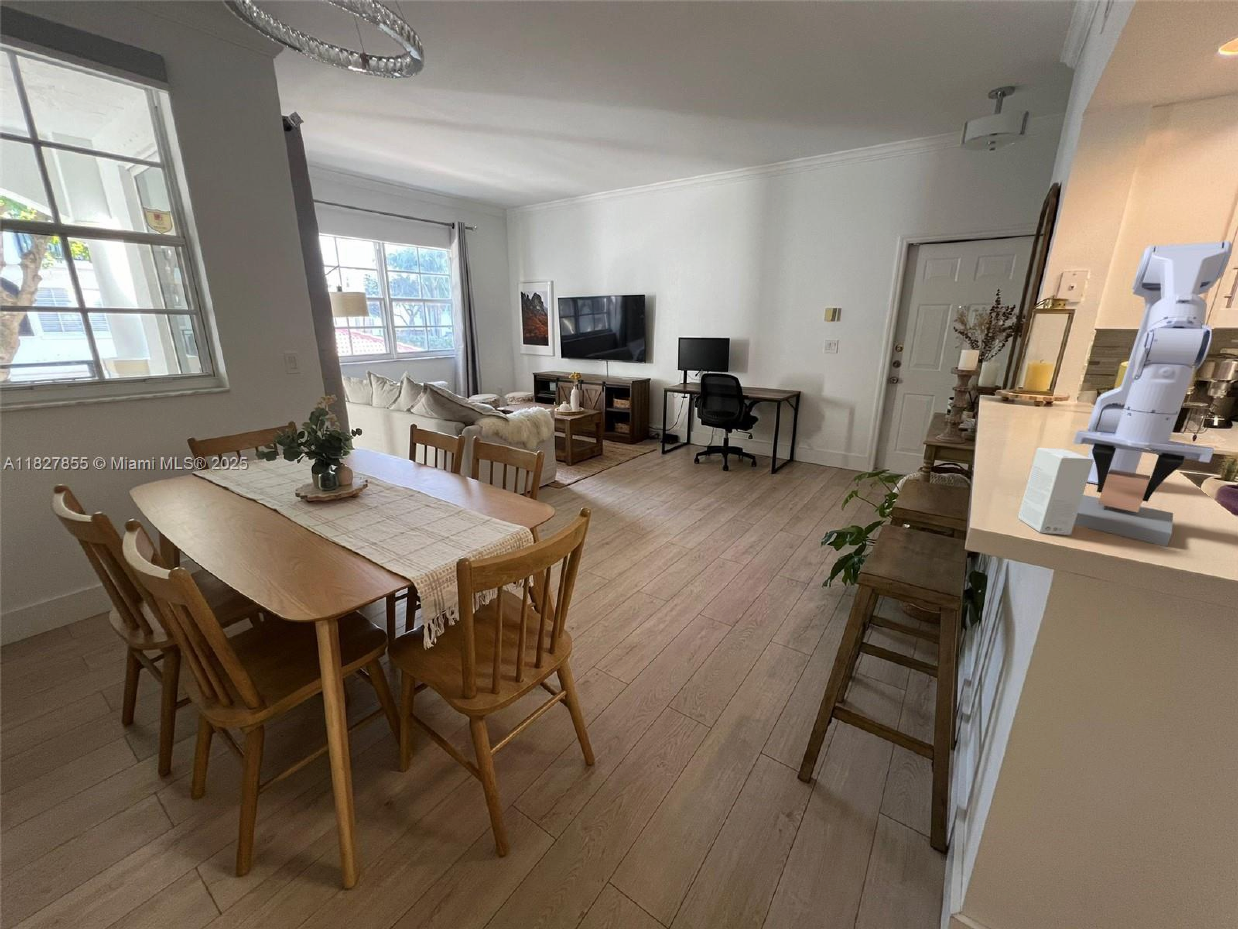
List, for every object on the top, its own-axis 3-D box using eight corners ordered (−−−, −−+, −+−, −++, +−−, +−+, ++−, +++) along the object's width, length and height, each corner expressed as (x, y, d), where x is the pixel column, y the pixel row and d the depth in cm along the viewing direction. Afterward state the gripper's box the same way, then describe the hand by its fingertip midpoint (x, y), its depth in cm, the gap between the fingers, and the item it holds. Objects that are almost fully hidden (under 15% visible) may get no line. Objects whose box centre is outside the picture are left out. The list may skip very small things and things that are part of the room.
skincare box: (1071, 536, 72) (1096, 459, 68) (1039, 533, 72) (1061, 457, 69) (1046, 520, 77) (1067, 448, 74) (1016, 518, 78) (1035, 446, 75)
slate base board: (1068, 503, 85) (1071, 492, 84) (1168, 524, 76) (1173, 512, 76) (1056, 520, 77) (1060, 508, 77) (1166, 546, 69) (1171, 533, 68)
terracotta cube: (1101, 497, 80) (1110, 469, 78) (1139, 505, 76) (1150, 475, 75) (1097, 504, 77) (1107, 474, 75) (1138, 512, 74) (1148, 481, 72)
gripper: (1081, 406, 75) (1057, 488, 79) (1227, 421, 64) (1191, 515, 68) (1087, 402, 79) (1064, 479, 83) (1224, 415, 69) (1190, 503, 73)
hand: (1121, 495), depth 76 cm, fingers closed on terracotta cube, 4 cm apart
